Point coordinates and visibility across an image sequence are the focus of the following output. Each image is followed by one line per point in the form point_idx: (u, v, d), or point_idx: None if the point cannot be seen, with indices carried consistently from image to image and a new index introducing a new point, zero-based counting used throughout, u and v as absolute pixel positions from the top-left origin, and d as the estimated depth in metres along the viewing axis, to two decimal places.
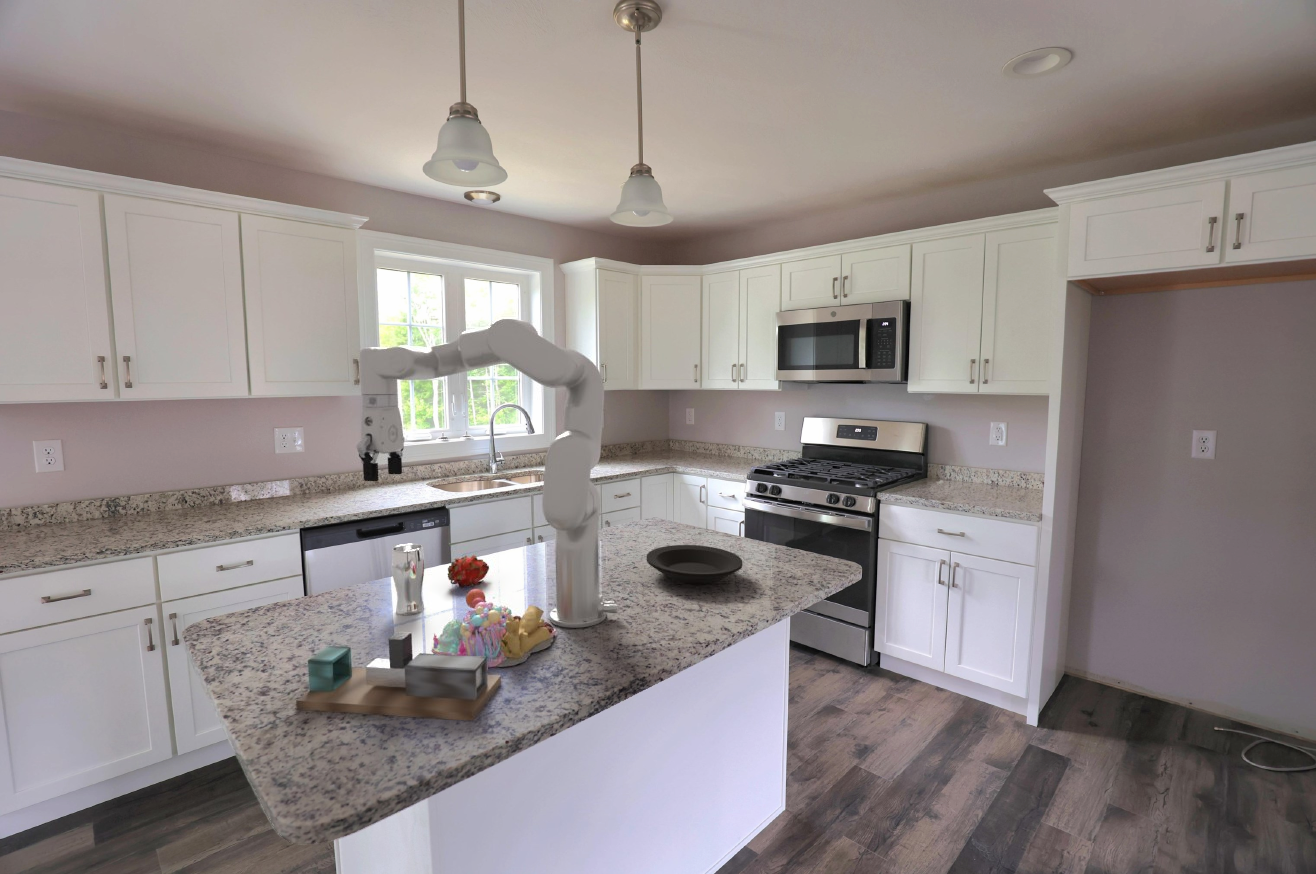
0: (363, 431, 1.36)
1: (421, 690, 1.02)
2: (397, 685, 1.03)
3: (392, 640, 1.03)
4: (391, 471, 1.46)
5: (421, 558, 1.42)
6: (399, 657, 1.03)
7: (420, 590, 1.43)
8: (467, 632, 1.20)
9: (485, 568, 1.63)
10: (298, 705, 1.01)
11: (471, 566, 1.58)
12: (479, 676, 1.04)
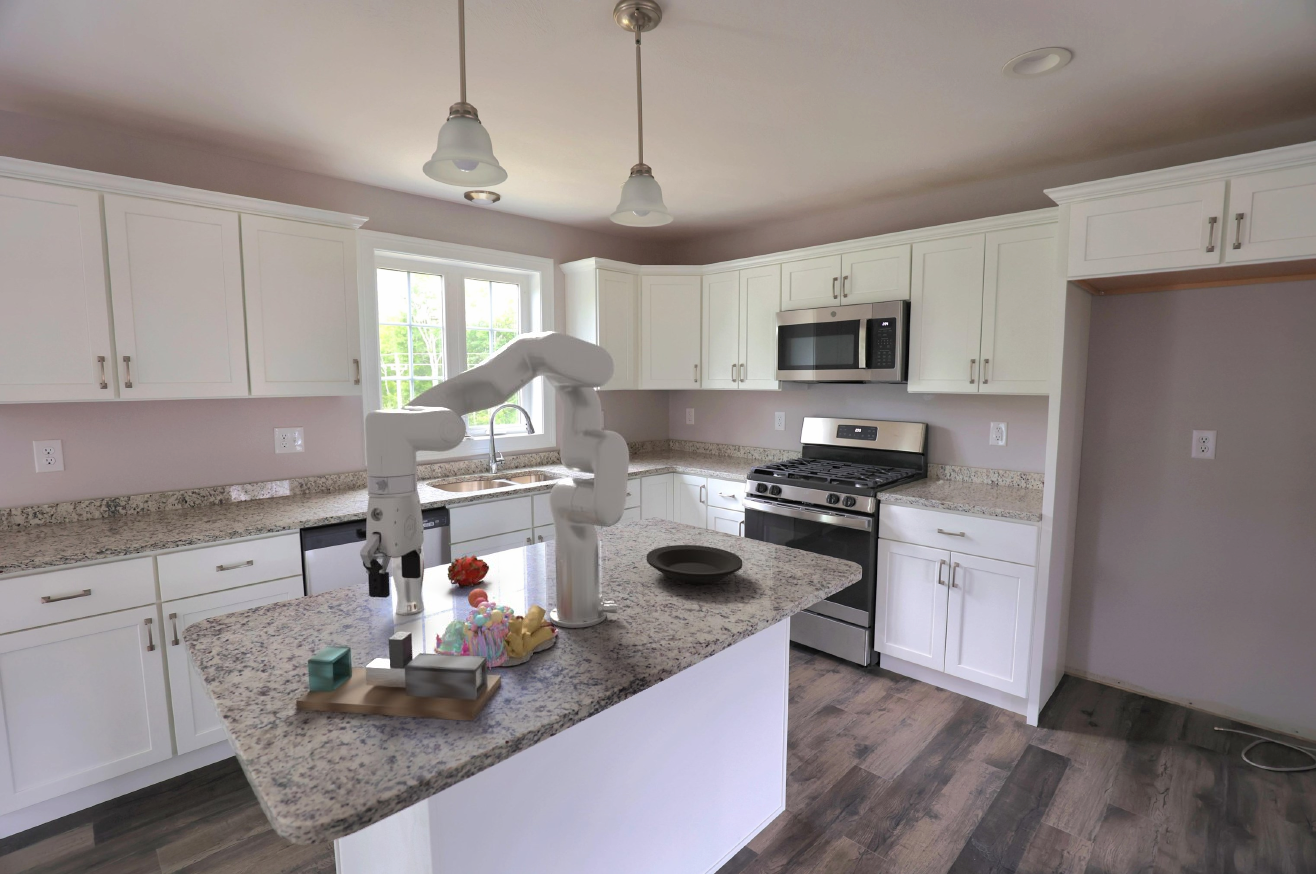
0: (369, 528, 0.98)
1: (421, 690, 1.02)
2: (397, 685, 1.03)
3: (392, 640, 1.03)
4: (406, 574, 1.08)
5: (421, 558, 1.42)
6: (399, 657, 1.03)
7: (420, 590, 1.43)
8: (470, 632, 1.21)
9: (485, 568, 1.63)
10: (298, 705, 1.01)
11: (471, 566, 1.58)
12: (479, 676, 1.04)
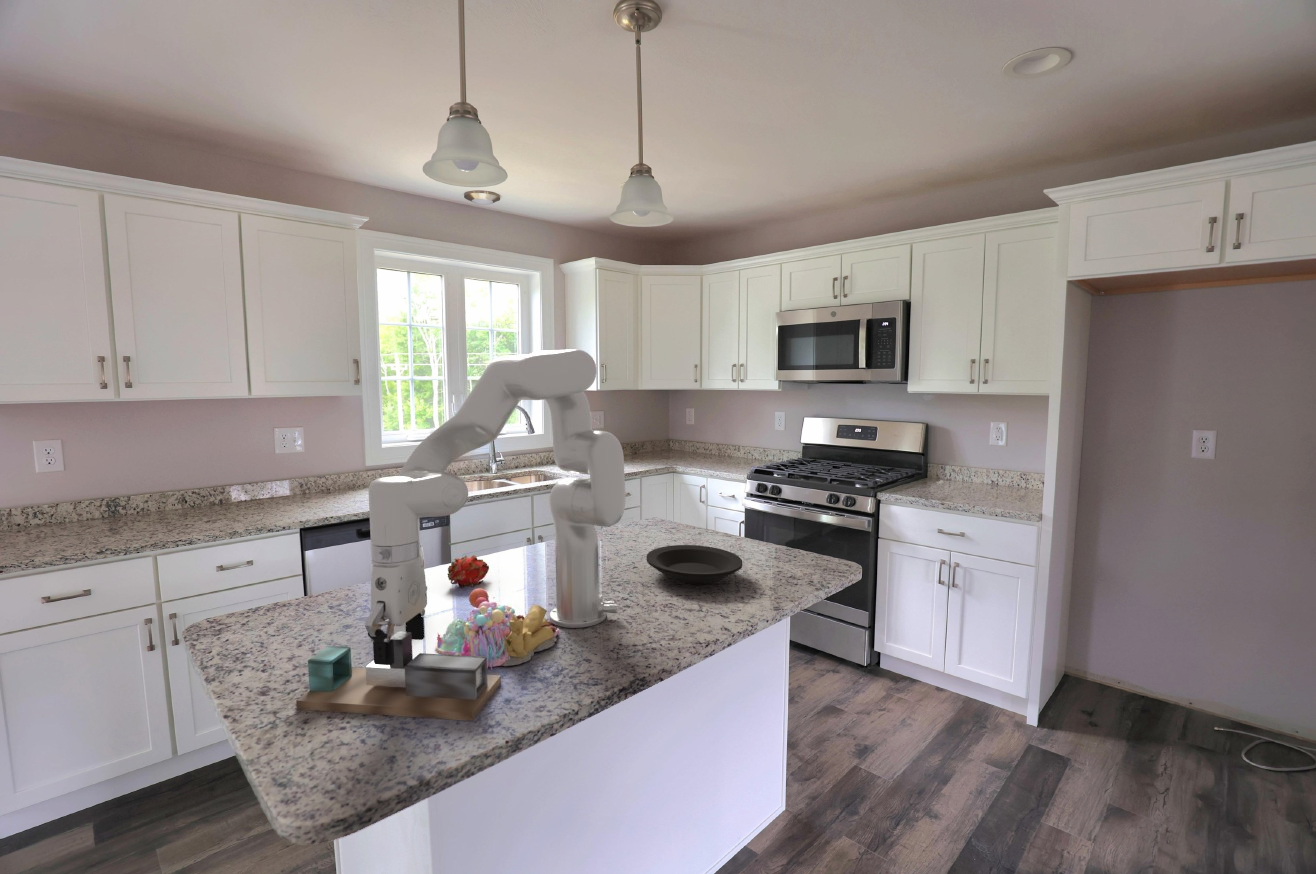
0: (373, 597, 0.99)
1: (421, 690, 1.02)
2: (397, 685, 1.03)
3: None
4: None
5: None
6: (399, 657, 1.03)
7: None
8: (471, 631, 1.21)
9: (485, 568, 1.63)
10: (298, 705, 1.01)
11: (471, 566, 1.58)
12: (479, 676, 1.04)
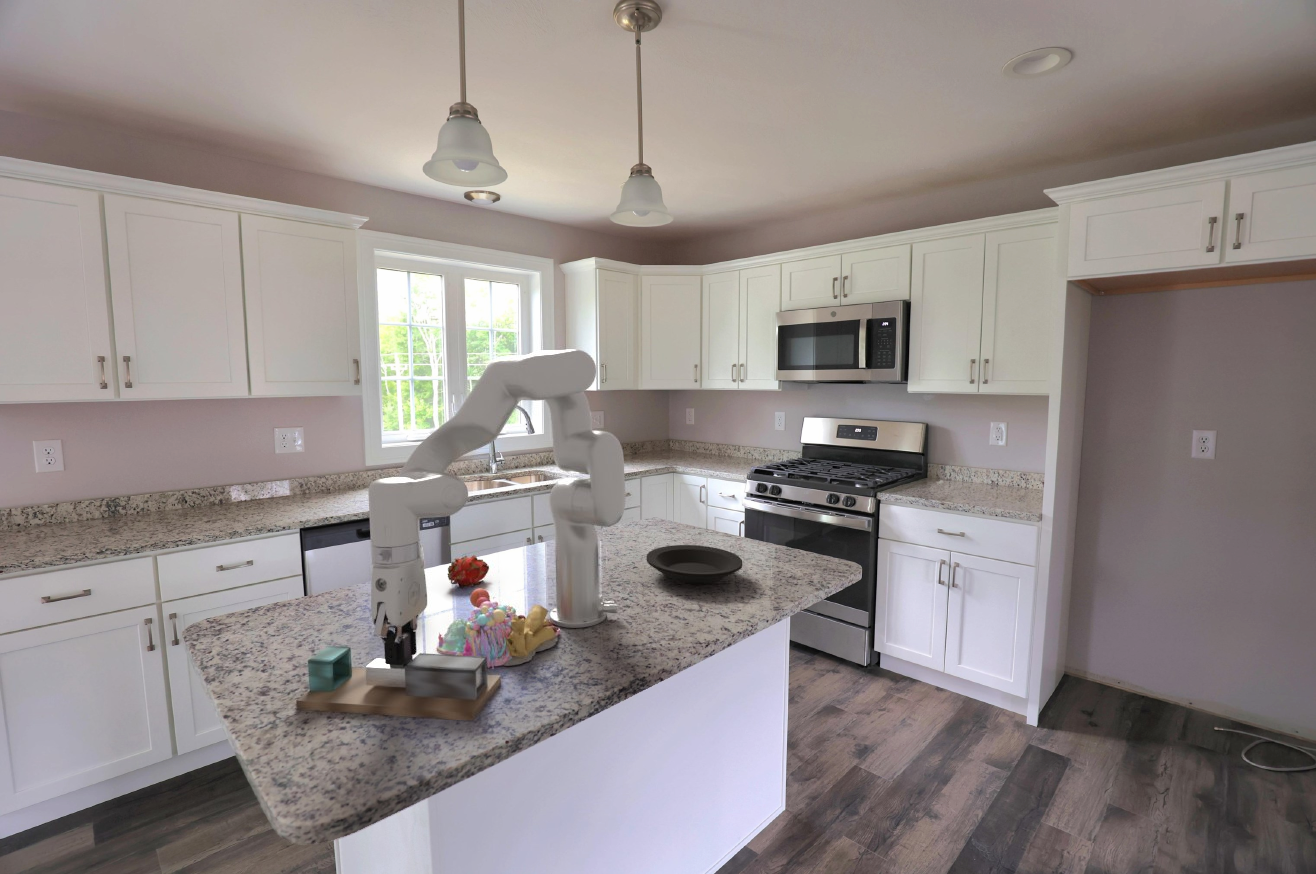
0: (374, 598, 0.99)
1: (421, 690, 1.02)
2: (397, 685, 1.03)
3: None
4: None
5: None
6: None
7: None
8: (472, 631, 1.21)
9: (485, 568, 1.63)
10: (298, 705, 1.01)
11: (471, 566, 1.58)
12: (479, 676, 1.04)
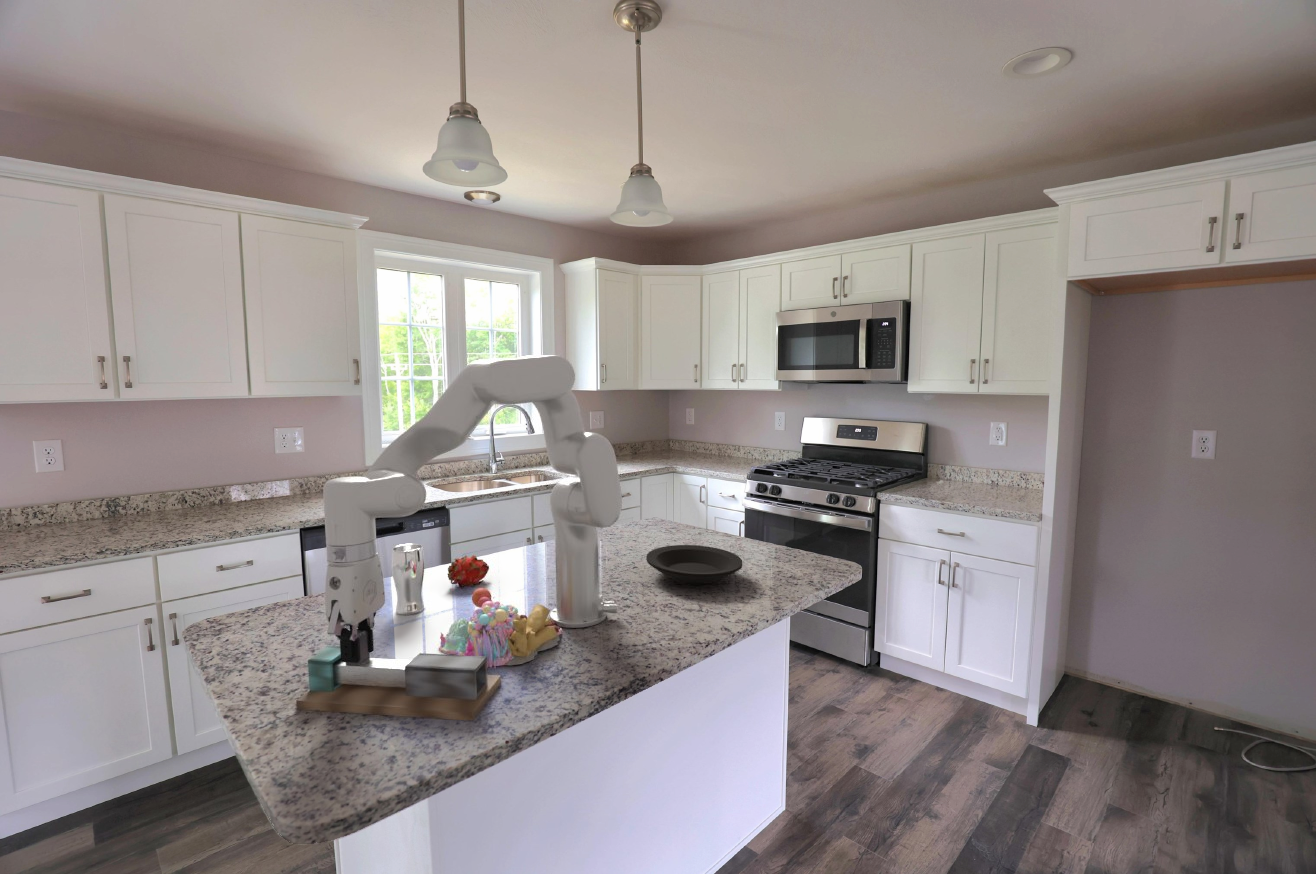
0: (328, 596, 1.00)
1: (421, 690, 1.02)
2: (353, 682, 1.04)
3: None
4: None
5: (421, 558, 1.42)
6: None
7: (420, 590, 1.43)
8: (474, 631, 1.21)
9: (485, 568, 1.63)
10: (298, 705, 1.01)
11: (471, 566, 1.58)
12: None
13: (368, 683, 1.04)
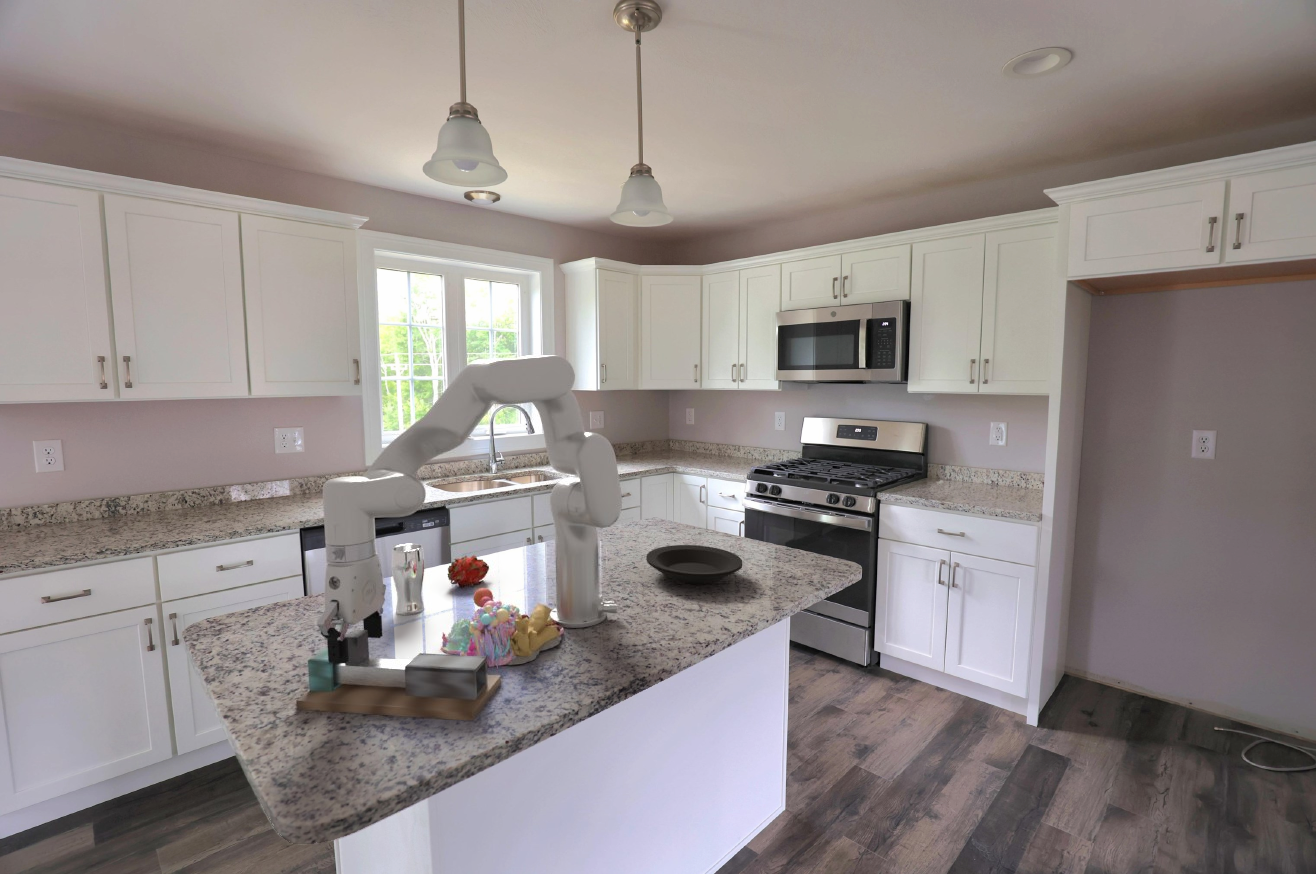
0: (327, 596, 1.00)
1: (421, 690, 1.02)
2: (352, 682, 1.04)
3: (347, 638, 1.04)
4: (368, 634, 1.10)
5: (421, 558, 1.42)
6: (354, 655, 1.04)
7: (420, 590, 1.43)
8: (476, 631, 1.21)
9: (485, 568, 1.63)
10: (298, 705, 1.01)
11: (471, 566, 1.58)
12: None
13: (367, 683, 1.04)
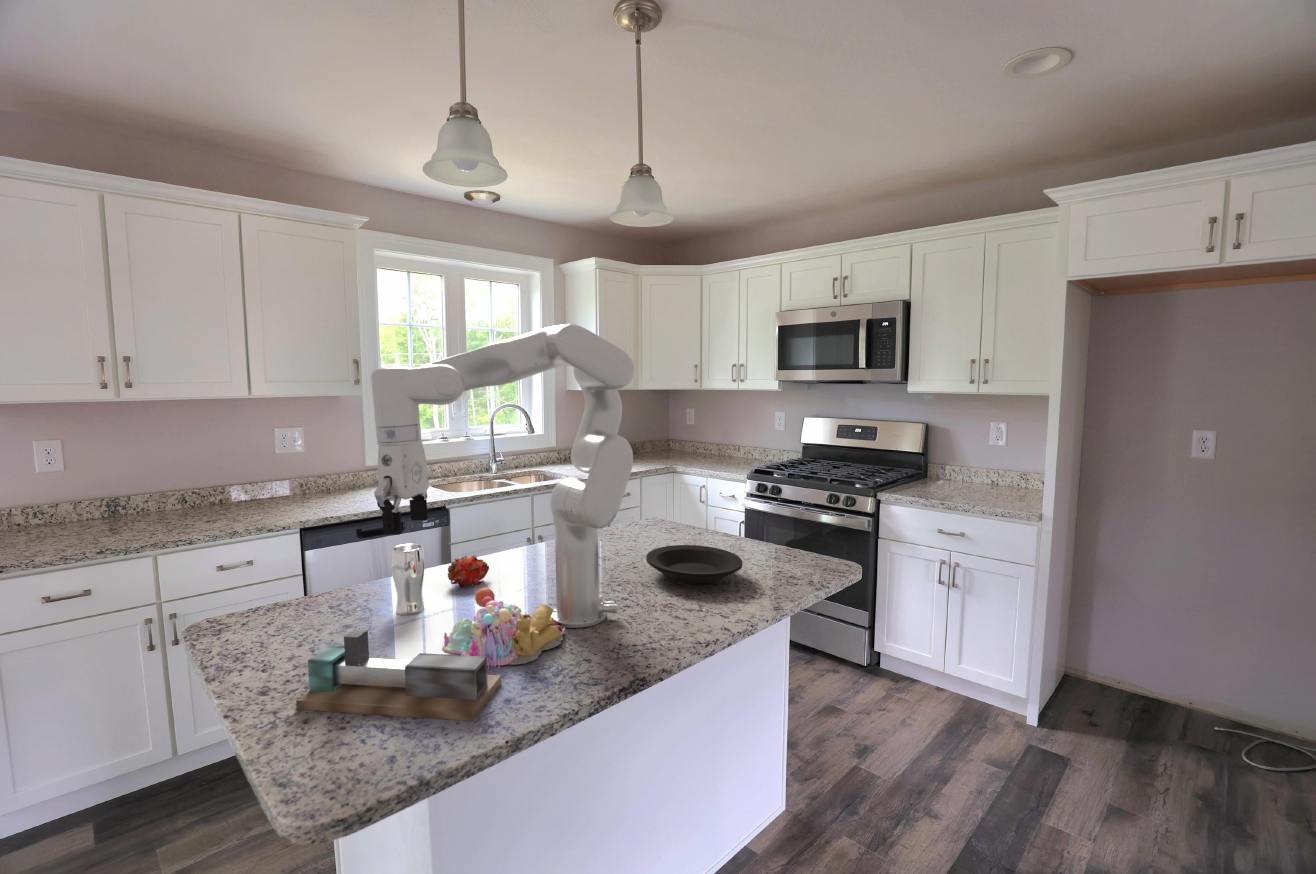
0: (380, 473, 1.09)
1: (421, 690, 1.02)
2: (352, 682, 1.04)
3: (347, 638, 1.04)
4: (414, 517, 1.19)
5: (421, 558, 1.42)
6: (354, 655, 1.04)
7: (420, 590, 1.43)
8: (478, 630, 1.21)
9: (485, 568, 1.63)
10: (298, 705, 1.01)
11: (471, 566, 1.58)
12: None
13: (367, 683, 1.04)
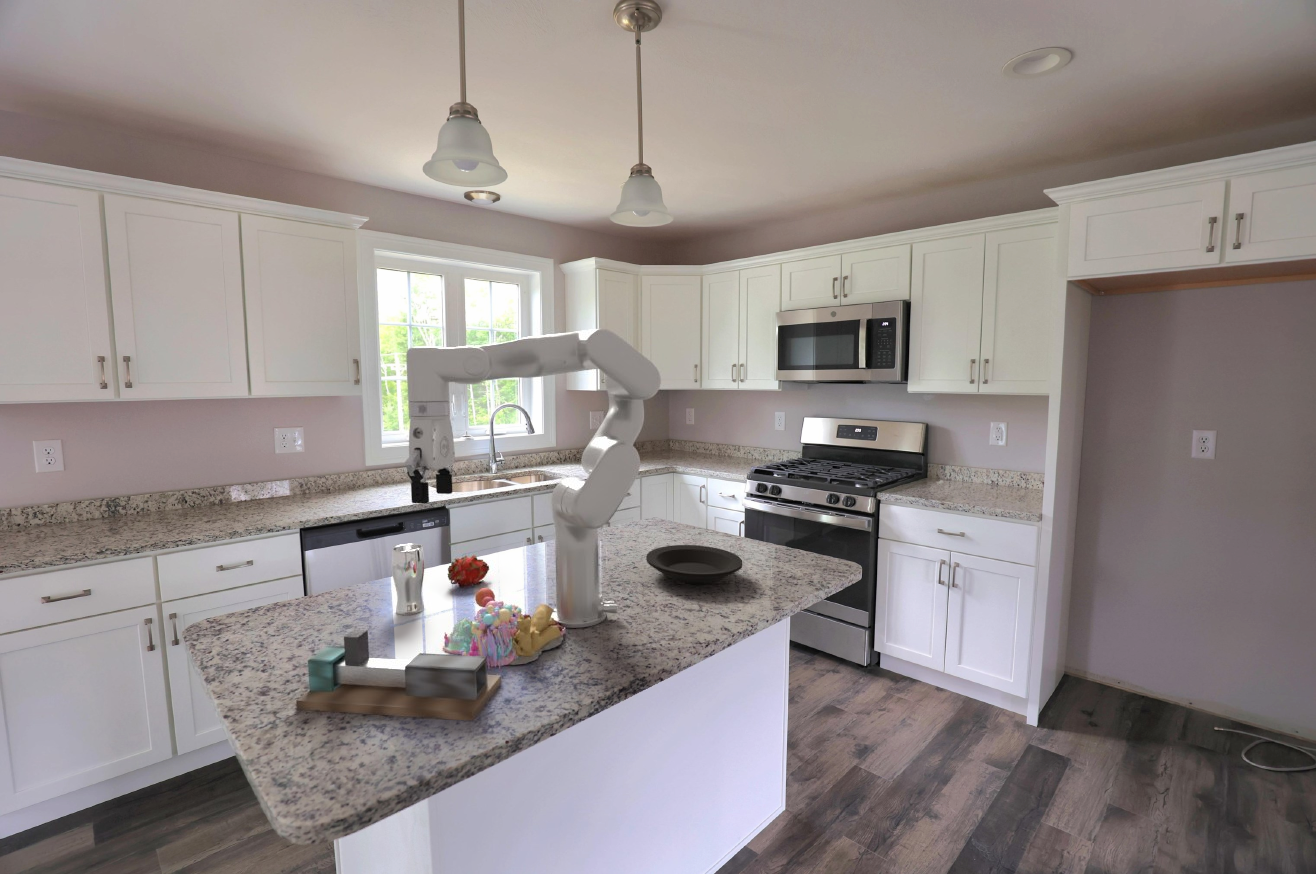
0: (411, 445, 1.16)
1: (421, 690, 1.02)
2: (352, 682, 1.04)
3: (347, 638, 1.04)
4: (440, 490, 1.26)
5: (421, 558, 1.42)
6: (354, 655, 1.04)
7: (420, 590, 1.43)
8: (478, 631, 1.21)
9: (485, 568, 1.63)
10: (298, 705, 1.01)
11: (471, 566, 1.58)
12: None
13: (367, 683, 1.04)
